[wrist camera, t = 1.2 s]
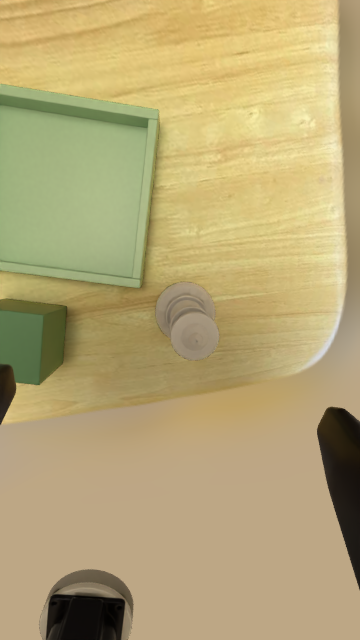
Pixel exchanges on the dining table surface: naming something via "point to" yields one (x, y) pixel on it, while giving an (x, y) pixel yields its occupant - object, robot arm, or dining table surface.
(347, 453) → the robot arm
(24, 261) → the green tray
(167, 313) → the chess piece
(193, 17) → the dining table surface
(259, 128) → the dining table surface
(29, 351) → the green block
